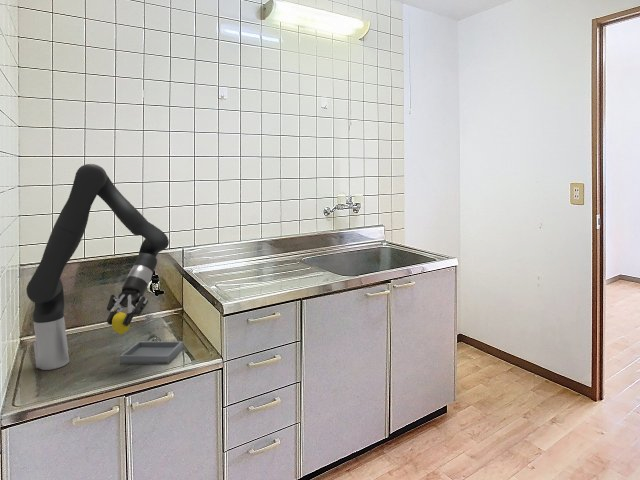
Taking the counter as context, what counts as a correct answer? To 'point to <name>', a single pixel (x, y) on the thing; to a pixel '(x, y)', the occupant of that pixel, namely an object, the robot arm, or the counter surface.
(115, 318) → the lemon
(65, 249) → the robot arm
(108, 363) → the counter surface
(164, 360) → the tray
